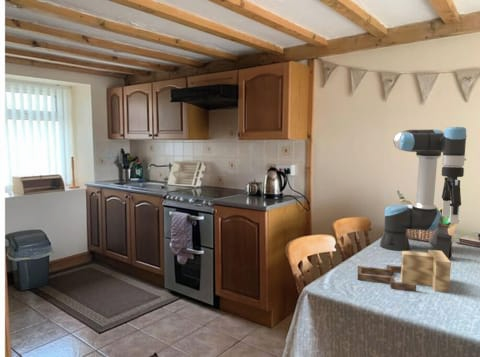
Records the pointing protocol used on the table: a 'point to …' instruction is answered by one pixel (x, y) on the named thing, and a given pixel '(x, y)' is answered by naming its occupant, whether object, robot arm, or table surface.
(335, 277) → the table surface
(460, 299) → the table surface
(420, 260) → the oak T block
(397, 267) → the walnut T frame
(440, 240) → the phone stand
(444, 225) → the coffee pot
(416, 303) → the table surface
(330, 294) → the table surface
